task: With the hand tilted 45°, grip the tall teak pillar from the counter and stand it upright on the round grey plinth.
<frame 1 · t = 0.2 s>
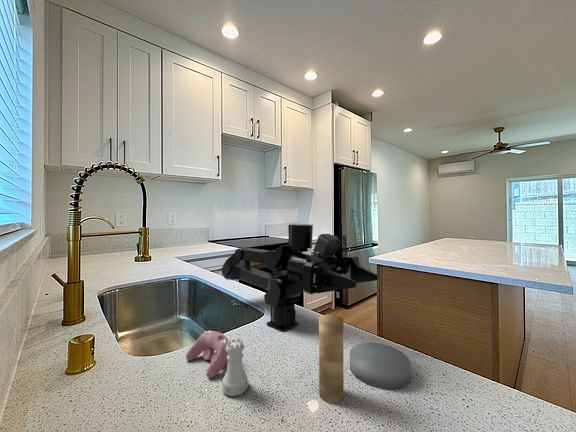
hand: (367, 280, 51), 16 cm above the table, tool horizontal, fingers open, 9 cm apart
grey plinth: (379, 369, 49), on the table
video game controller: (209, 365, 51), on the table
teak pillar: (331, 394, 42), on the table
rook chess piece: (235, 389, 43), on the table
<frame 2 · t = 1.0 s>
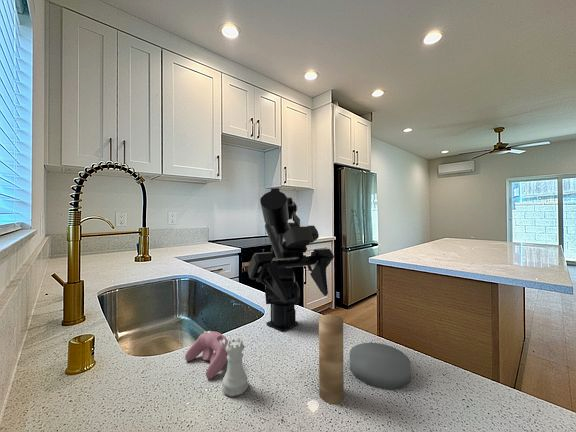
hand: (307, 298, 49), 14 cm above the table, tool tilted 45°, fingers open, 9 cm apart
nothing on the table moved.
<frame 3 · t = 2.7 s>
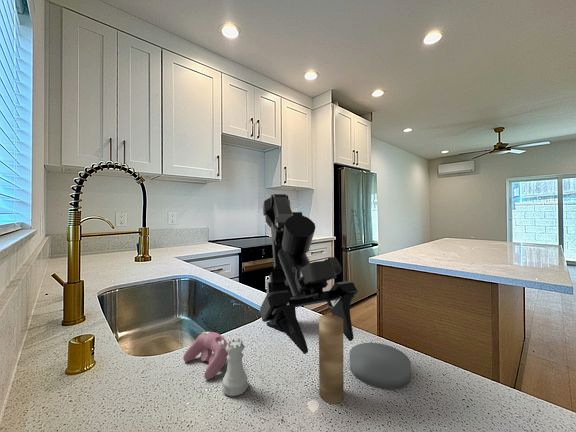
hand: (330, 346, 42), 8 cm above the table, tool tilted 45°, fingers open, 9 cm apart
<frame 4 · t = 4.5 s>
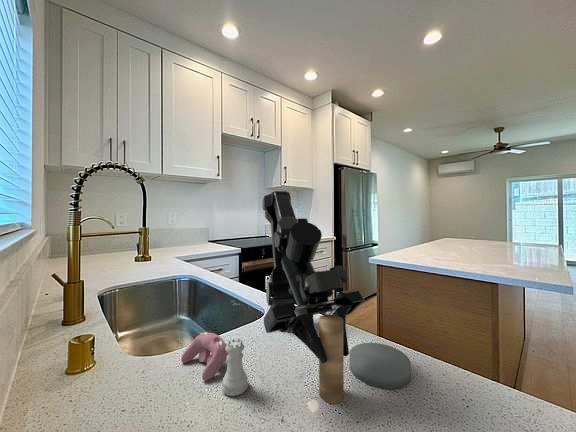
hand: (336, 358, 41), 7 cm above the table, tool tilted 45°, fingers closed on teak pillar, 4 cm apart
teak pillar: (331, 394, 42), on the table, touching gripper
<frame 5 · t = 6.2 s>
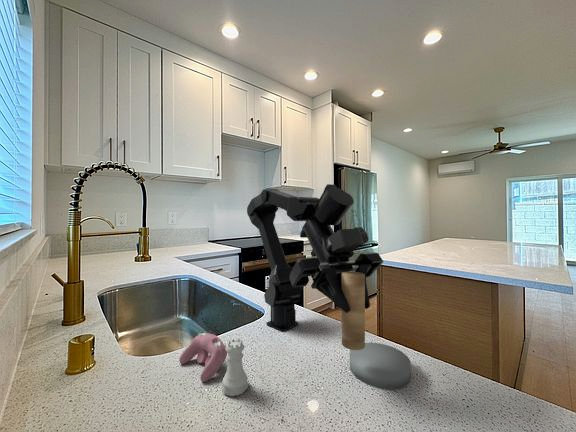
hand: (358, 309, 44), 13 cm above the table, tool tilted 45°, fingers closed on teak pillar, 4 cm apart
teak pillar: (353, 344, 45), point 7 cm above the table, touching gripper
when the fingers open (11 cm above the table, at t = 8.1 s): teak pillar drops 1 cm, resting on grey plinth.
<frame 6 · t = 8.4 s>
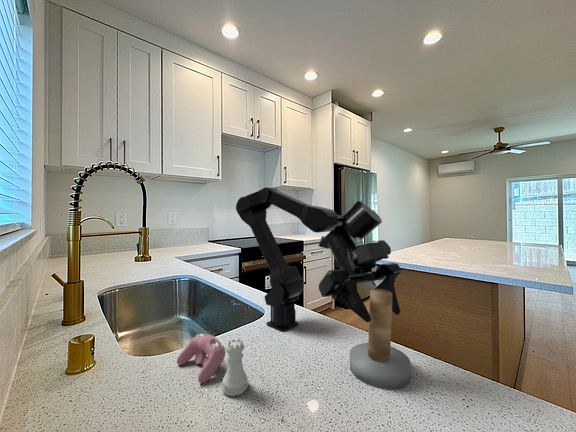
hand: (384, 317, 47), 11 cm above the table, tool tilted 45°, fingers open, 7 cm apart
teak pillar: (378, 356, 49), point 3 cm above the table, touching grey plinth
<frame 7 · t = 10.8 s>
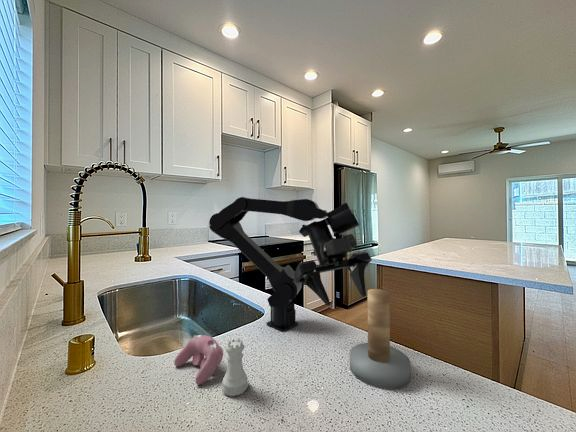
hand: (347, 300, 56), 11 cm above the table, tool tilted 40°, fingers open, 9 cm apart
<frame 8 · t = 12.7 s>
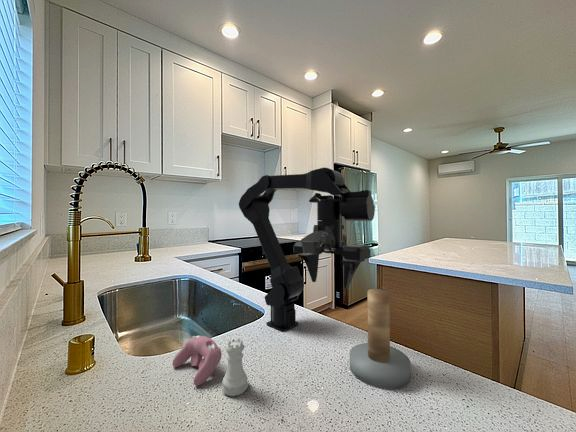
hand: (329, 285, 61), 13 cm above the table, tool pointing down, fingers open, 9 cm apart
at the end: teak pillar 0.0 cm off-centre on the grey plinth, point 2.5 cm above the grey plinth's base; teak pillar tilted 0°; the gripper is holding nothing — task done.
